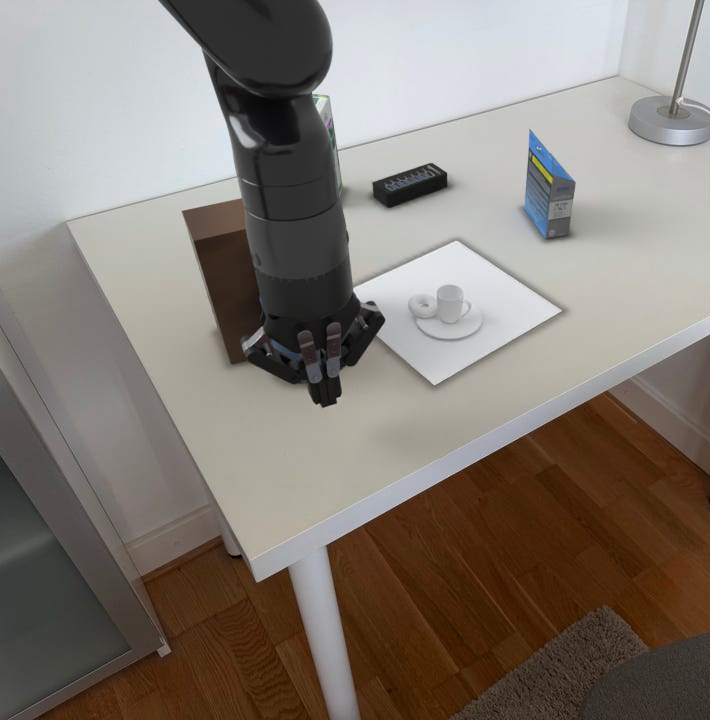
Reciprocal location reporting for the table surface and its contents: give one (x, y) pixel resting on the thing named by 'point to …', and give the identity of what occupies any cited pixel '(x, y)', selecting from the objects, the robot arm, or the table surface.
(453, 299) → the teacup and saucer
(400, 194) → the multiport hub
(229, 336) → the walnut block
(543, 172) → the blue grey carton
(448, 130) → the table surface
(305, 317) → the robot arm
